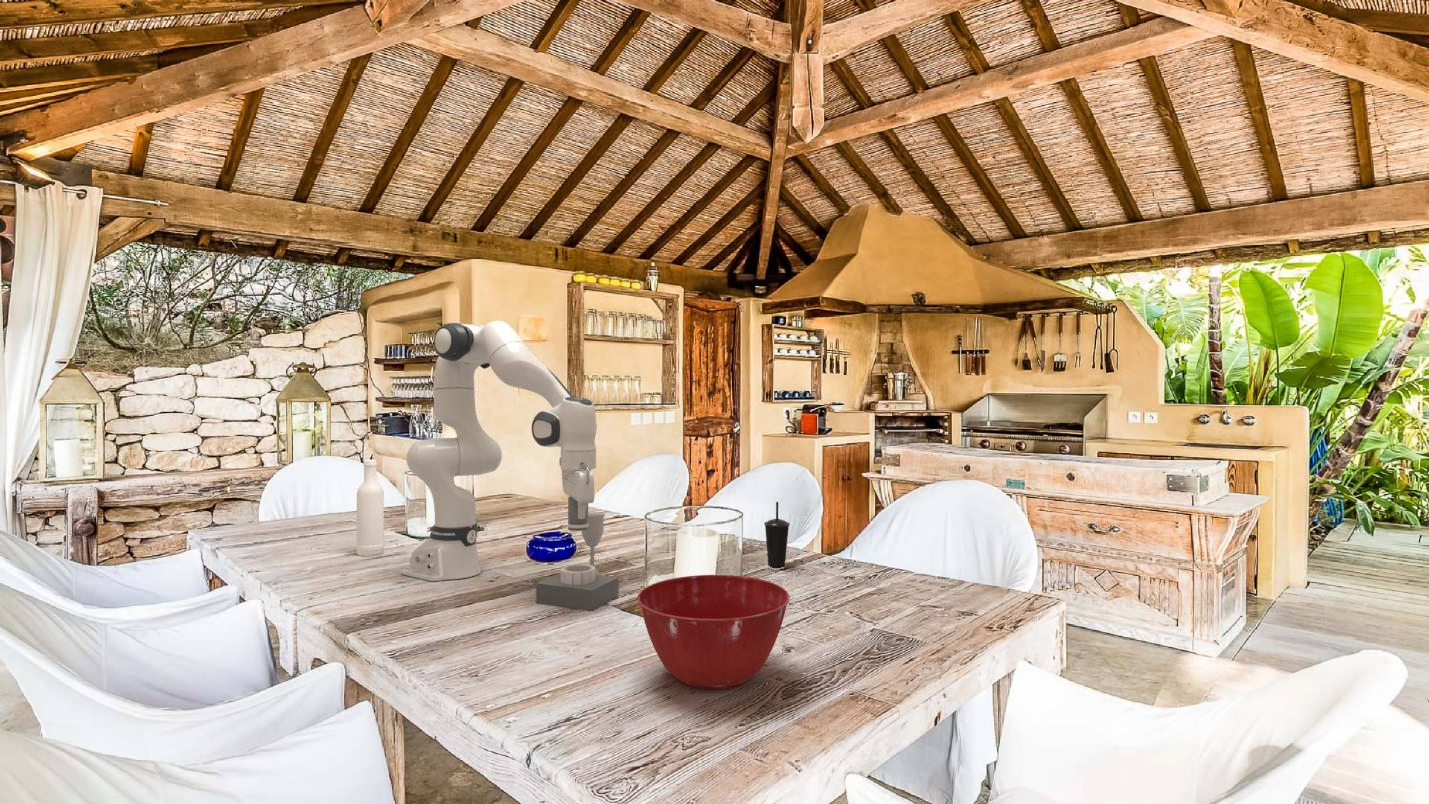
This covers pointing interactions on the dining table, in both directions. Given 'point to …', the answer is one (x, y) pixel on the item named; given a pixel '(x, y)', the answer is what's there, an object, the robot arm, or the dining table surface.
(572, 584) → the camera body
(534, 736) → the dining table surface
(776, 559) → the drinking cup
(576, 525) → the lens
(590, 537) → the chalice
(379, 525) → the bottle
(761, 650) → the mixing bowl
